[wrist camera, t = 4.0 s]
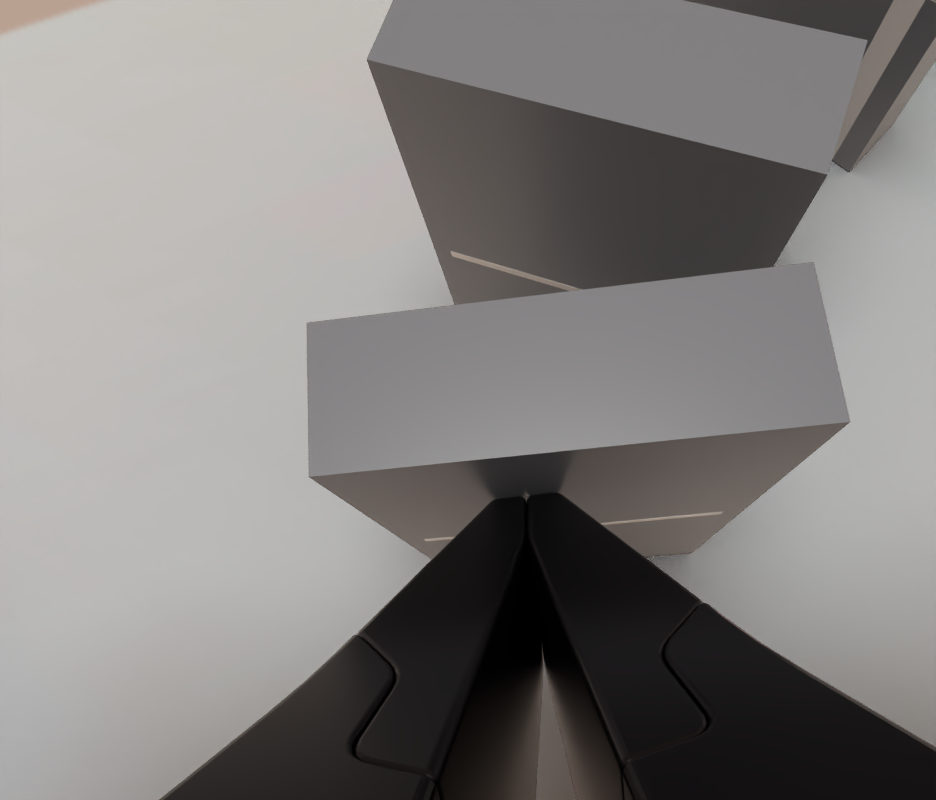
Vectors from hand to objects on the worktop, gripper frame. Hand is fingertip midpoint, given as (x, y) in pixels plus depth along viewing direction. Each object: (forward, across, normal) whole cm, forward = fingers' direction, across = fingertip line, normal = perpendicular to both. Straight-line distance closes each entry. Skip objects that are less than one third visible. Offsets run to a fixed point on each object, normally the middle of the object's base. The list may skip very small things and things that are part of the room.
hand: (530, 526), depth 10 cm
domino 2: (+6, 0, -5) cm, 8 cm away
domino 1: (+9, +1, -2) cm, 9 cm away
